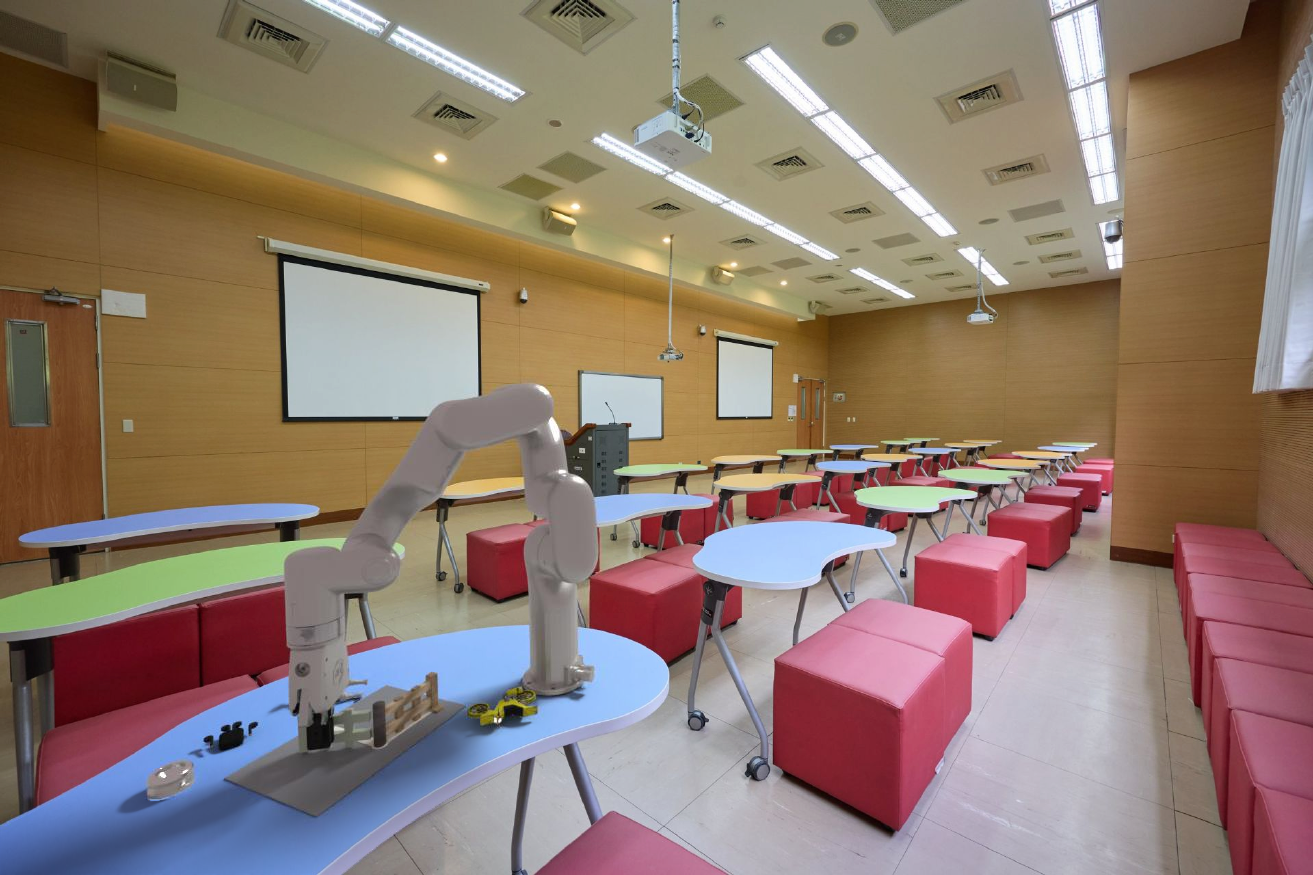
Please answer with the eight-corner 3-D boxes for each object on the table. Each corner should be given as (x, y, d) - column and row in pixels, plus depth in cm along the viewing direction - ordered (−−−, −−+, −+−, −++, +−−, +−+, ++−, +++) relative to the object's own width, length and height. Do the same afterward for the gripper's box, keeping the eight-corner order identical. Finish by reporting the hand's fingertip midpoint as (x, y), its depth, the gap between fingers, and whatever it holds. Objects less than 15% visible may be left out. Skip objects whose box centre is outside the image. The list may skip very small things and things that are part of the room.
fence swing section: (373, 740, 85) (371, 704, 84) (369, 745, 83) (368, 709, 83) (303, 747, 83) (302, 710, 83) (299, 752, 82) (297, 715, 81)
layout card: (466, 706, 95) (466, 704, 95) (316, 817, 69) (316, 814, 69) (386, 686, 103) (386, 684, 103) (224, 778, 77) (224, 777, 77)
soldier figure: (355, 713, 95) (282, 704, 92) (354, 720, 98) (283, 711, 95) (372, 669, 101) (303, 659, 97) (370, 677, 104) (304, 668, 100)
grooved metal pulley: (151, 786, 75) (143, 807, 71) (149, 767, 75) (142, 786, 71) (196, 772, 78) (192, 791, 74) (195, 753, 78) (191, 771, 74)
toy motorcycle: (532, 679, 97) (543, 697, 91) (532, 699, 98) (544, 718, 92) (465, 697, 91) (472, 718, 85) (465, 718, 92) (473, 740, 86)
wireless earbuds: (202, 752, 81) (203, 727, 85) (203, 764, 82) (204, 739, 86) (258, 734, 86) (257, 712, 89) (259, 746, 86) (258, 723, 90)
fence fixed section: (384, 751, 83) (382, 709, 82) (366, 746, 84) (364, 704, 84) (444, 709, 94) (443, 671, 94) (427, 705, 96) (426, 668, 95)
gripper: (322, 648, 73) (326, 775, 73) (361, 609, 87) (364, 715, 88) (261, 653, 71) (267, 783, 72) (311, 613, 86) (315, 721, 87)
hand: (320, 745), depth 80 cm, fingers closed
